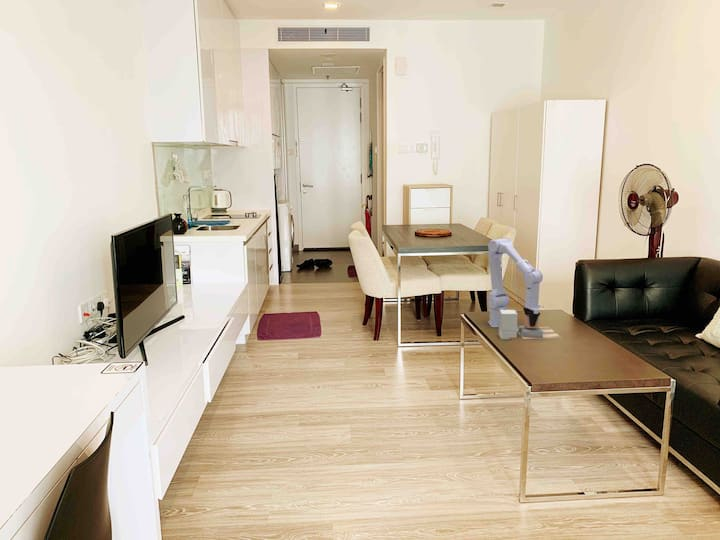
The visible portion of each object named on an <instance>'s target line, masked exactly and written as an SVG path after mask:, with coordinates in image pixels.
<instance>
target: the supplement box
mask: <svg viewBox="0 0 720 540" xmlns="http://www.w3.org/2000/svg"><path fill="white" fill-rule="evenodd" d="M518 315H519V314H518V313H517V311H516V309H506V310H500V314H499V327H498V336H499V338H500V340H511V339H512V338H513V339H517V337H518V335H517V334H518V332H517V327H518V319H519V318H518Z"/></svg>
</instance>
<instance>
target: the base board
mask: <svg viewBox="0 0 720 540" xmlns="http://www.w3.org/2000/svg"><path fill="white" fill-rule="evenodd" d="M517 334H518V335H519V336H520V337H521V338H522V339H526V340H527V339H528V340H529V339H530V340H531V339H535V340H536V339H540V340H541V339H545V340H546V339H548V340H549V339H553V340H554V339H555V340H556V339H557V340H558V339H563V338H562V337H561V336H560V335H559V334H558V333H556V331H554V329H552V328H551V327H550V326H538V328H526V327H525V326H524V325H517Z"/></svg>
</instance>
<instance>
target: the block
mask: <svg viewBox="0 0 720 540" xmlns="http://www.w3.org/2000/svg"><path fill="white" fill-rule="evenodd" d="M523 318H524V319H523V320H524V321H523V326H525V327H526V328H538V327H539V318H538V319H537V321H536V325H535V327H531V326H530V322H529V315H525V314H524V317H523Z"/></svg>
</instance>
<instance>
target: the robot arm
mask: <svg viewBox="0 0 720 540" xmlns="http://www.w3.org/2000/svg"><path fill="white" fill-rule="evenodd" d="M487 247H488V255H487V256H488V265H489V271H490V272H489V273H490V280H491V289H492V290H491V291H490V292H489V293H488V299H487V304H488V306H489V308H490V309H489V320H488V321H487V324H489V326H490V328H499V314H500V310H507V309H508V306H509V305H510V303H511V302H510V301H511V300H510V297H509V295H508V291H507V290H505V288H504V282H503V275H502V263H501V257H502V256H503V254H506V255H507V256H509V258H510V259H511V260H512V261H513V262H514V263H515V264H516V266H515V267H516V269H517V270H518V271H519V272H520V273H521V275H523V276H524V277H523V278H524V279H523V280H524V283H525V287H526V289H525V290H526V291H525V302H524V307H523V308H522V309H523V311H524V316H525V315H529V322H530V326H531V327H535V325H536V321H537V319H538V320H539V317H540V316H541V312H539V308H541V305H539V296H540V285H541V284H540V283H541V282H543V277H544V276H543V273H542V272H541V271H540V270H538V269H535V268H534V267H533V266H532V264H530V262H529V260H527V259H525V258H523V257H521V256H520V254H519V253H518V251H517V250H516V249H515V247H514V244H513V242H512V241H511V239H509V238H507V237H504V238H496V239H494V238H493V239H491V240H490V242H488V244H487Z"/></svg>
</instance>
